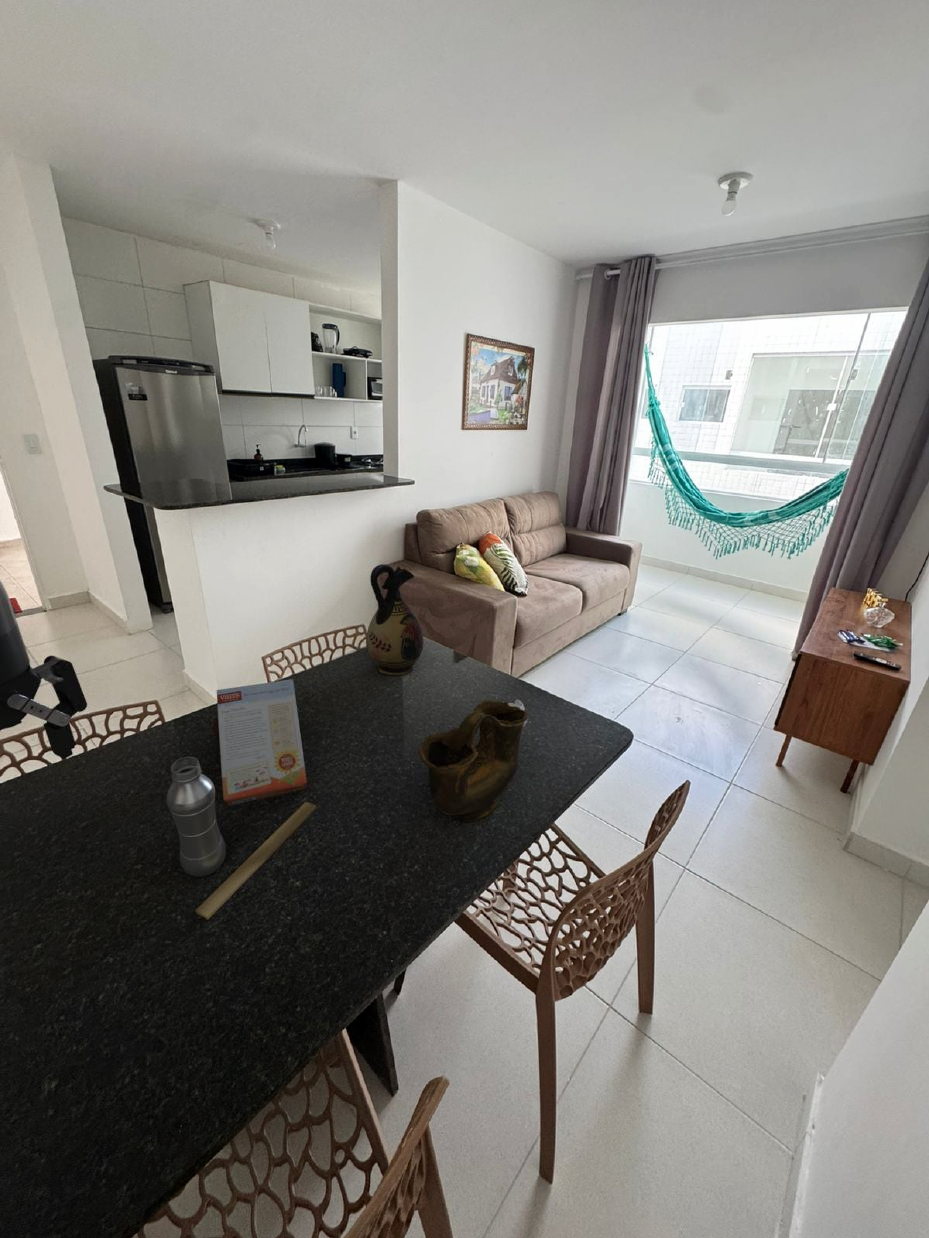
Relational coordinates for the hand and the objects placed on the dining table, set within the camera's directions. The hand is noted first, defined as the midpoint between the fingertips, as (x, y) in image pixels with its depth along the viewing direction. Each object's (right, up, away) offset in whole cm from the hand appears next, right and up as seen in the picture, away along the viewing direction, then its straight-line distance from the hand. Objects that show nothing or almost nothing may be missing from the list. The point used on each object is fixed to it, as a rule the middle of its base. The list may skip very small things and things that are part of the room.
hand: (16, 780), depth 49 cm
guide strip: (+11, -23, +34) cm, 42 cm away
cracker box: (+8, -17, +43) cm, 47 cm away
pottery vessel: (+45, -19, +47) cm, 68 cm away
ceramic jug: (+23, +2, +92) cm, 95 cm away
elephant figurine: (+54, -10, +71) cm, 89 cm away
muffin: (-2, -12, +58) cm, 59 cm away
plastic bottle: (+2, -24, +32) cm, 40 cm away
